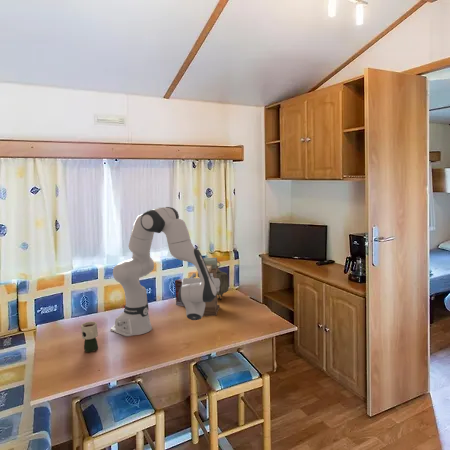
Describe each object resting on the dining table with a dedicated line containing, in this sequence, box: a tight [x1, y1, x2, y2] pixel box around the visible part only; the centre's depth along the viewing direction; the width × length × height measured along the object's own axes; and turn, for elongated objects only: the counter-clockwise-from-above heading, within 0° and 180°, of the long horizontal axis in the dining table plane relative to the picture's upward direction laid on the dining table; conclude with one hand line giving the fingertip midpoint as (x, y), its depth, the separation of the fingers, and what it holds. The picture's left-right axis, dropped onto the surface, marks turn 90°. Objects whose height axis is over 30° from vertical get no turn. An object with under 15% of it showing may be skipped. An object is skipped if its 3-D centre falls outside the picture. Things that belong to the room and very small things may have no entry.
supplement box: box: [174, 278, 185, 307], centre depth 238 cm, size 9×5×16 cm, turn 58°
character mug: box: [80, 321, 99, 353], centre depth 178 cm, size 11×7×13 cm, turn 32°
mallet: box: [198, 257, 218, 278], centre depth 216 cm, size 27×8×5 cm, turn 172°
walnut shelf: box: [197, 265, 220, 317], centre depth 222 cm, size 18×9×26 cm, turn 172°
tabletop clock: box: [216, 261, 230, 300], centre depth 246 cm, size 14×9×25 cm, turn 128°
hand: (202, 273), depth 205 cm, fingers open, 8 cm apart
